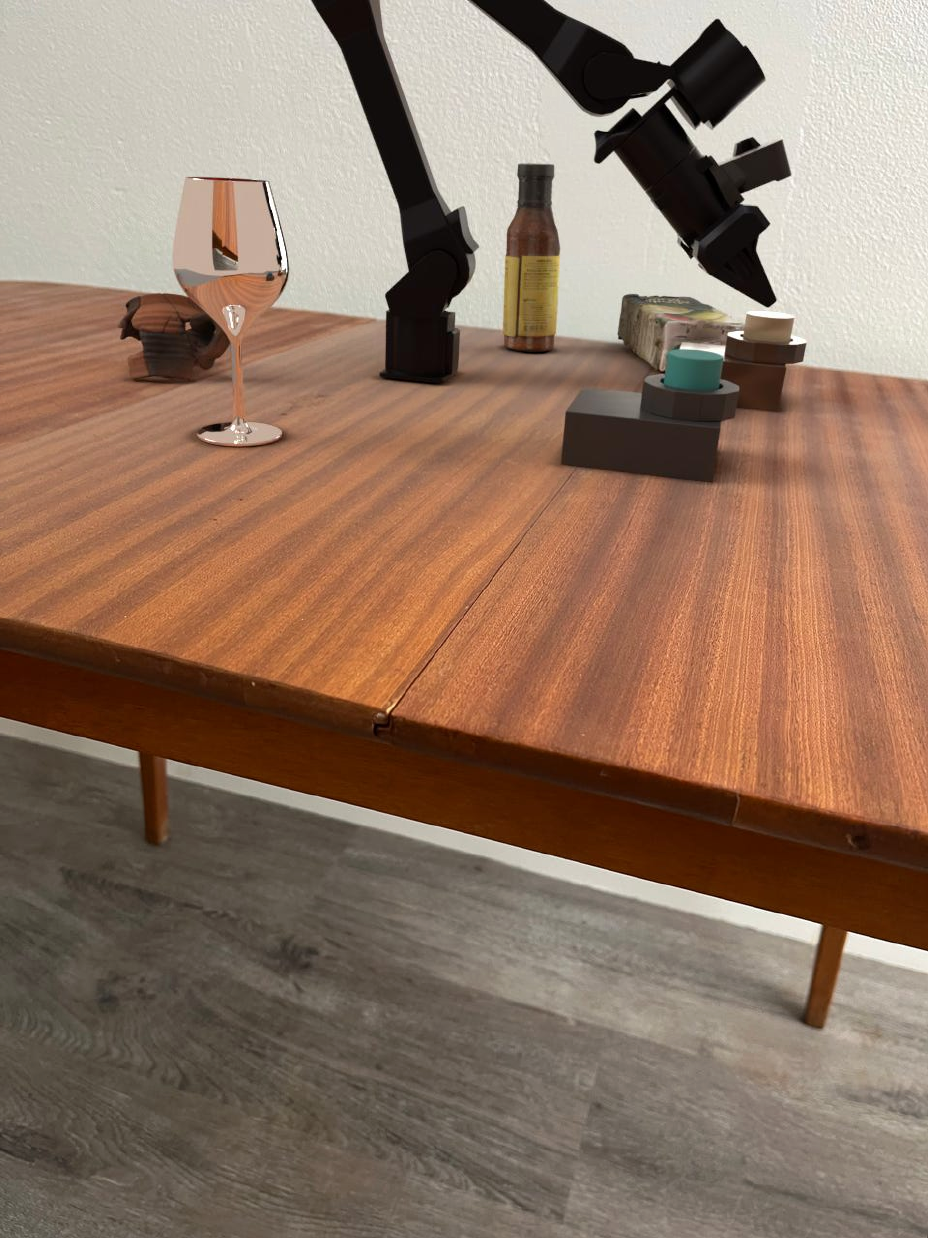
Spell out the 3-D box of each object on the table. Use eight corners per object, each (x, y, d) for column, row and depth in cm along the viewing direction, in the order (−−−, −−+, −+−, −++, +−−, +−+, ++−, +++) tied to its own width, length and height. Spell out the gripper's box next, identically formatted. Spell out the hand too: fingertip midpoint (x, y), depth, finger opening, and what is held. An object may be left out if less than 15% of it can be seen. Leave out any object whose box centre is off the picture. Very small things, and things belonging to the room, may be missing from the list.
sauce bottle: (563, 349, 117) (580, 165, 109) (538, 355, 113) (554, 164, 104) (515, 341, 121) (528, 162, 112) (489, 347, 116) (500, 160, 107)
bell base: (670, 400, 95) (679, 336, 92) (675, 382, 103) (684, 323, 100) (796, 413, 93) (809, 348, 90) (791, 394, 100) (803, 333, 98)
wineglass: (312, 430, 78) (308, 182, 71) (260, 455, 71) (250, 183, 64) (221, 417, 81) (208, 175, 73) (163, 440, 74) (141, 175, 66)
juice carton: (748, 376, 107) (757, 317, 105) (660, 375, 106) (667, 315, 103) (688, 345, 125) (695, 294, 123) (613, 343, 124) (618, 292, 121)
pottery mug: (97, 383, 91) (94, 296, 92) (159, 410, 100) (156, 331, 101) (211, 362, 87) (207, 271, 88) (265, 391, 96) (261, 309, 97)
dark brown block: (560, 464, 73) (568, 383, 71) (577, 435, 81) (585, 361, 79) (725, 484, 71) (739, 400, 68) (726, 452, 79) (739, 376, 76)
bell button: (742, 343, 93) (746, 315, 92) (742, 336, 97) (746, 309, 96) (790, 347, 92) (795, 319, 91) (788, 340, 96) (793, 313, 95)
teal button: (661, 391, 72) (666, 356, 71) (665, 381, 75) (669, 347, 74) (717, 397, 71) (723, 361, 70) (718, 386, 74) (724, 352, 73)
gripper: (763, 95, 78) (874, 252, 82) (729, 106, 95) (823, 236, 99) (650, 197, 82) (761, 342, 86) (637, 190, 99) (730, 312, 103)
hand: (772, 303), depth 93 cm, fingers closed
